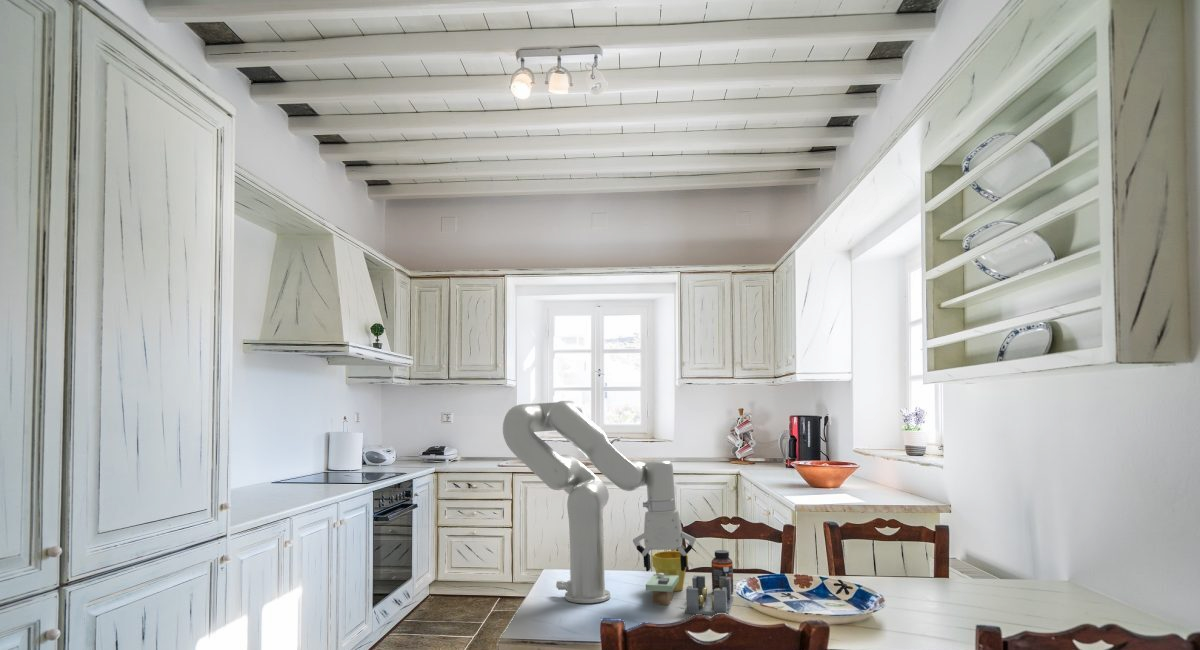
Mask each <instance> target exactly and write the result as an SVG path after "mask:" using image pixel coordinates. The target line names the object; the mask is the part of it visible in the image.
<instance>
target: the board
mask: <svg viewBox="0 0 1200 650" xmlns="http://www.w3.org/2000/svg"><path fill="white" fill-rule="evenodd" d="M678 581H679V575H664V573H658V574H656V573H655V574H653V575H652V576H651V577H650V579H649V580H648V581H647V583H646V584H645V591H647V592H648V591H649V592H653V591H665V592H672V591H673V589H674V588H675V586H676V585H677V583H678ZM673 592H674V591H673Z"/></svg>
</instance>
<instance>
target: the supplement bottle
mask: <svg viewBox="0 0 1200 650" xmlns="http://www.w3.org/2000/svg"><path fill="white" fill-rule="evenodd" d="M729 556H730V552H729V550H726V549H718V550H714V557H713V559H711V562H710V563H711V591H712V592H713V593H714V589H715V588H719V577H731V594H732V593H733V592H734V566H733V560H732V559H731V558H730V557H729Z"/></svg>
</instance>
